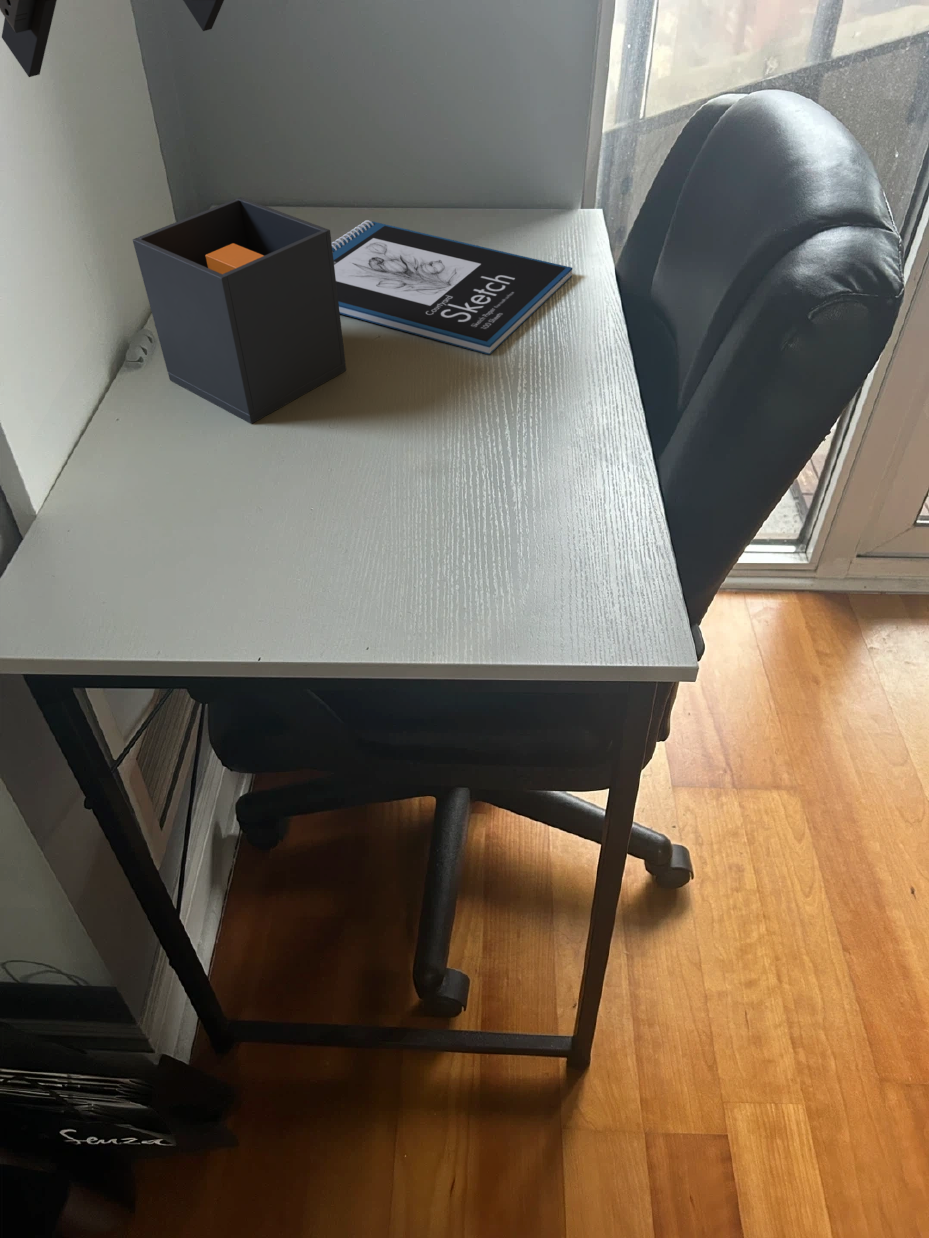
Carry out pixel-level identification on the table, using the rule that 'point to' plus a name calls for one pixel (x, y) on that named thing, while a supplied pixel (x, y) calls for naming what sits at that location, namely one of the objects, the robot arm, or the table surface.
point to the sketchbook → (439, 285)
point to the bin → (245, 307)
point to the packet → (230, 258)
